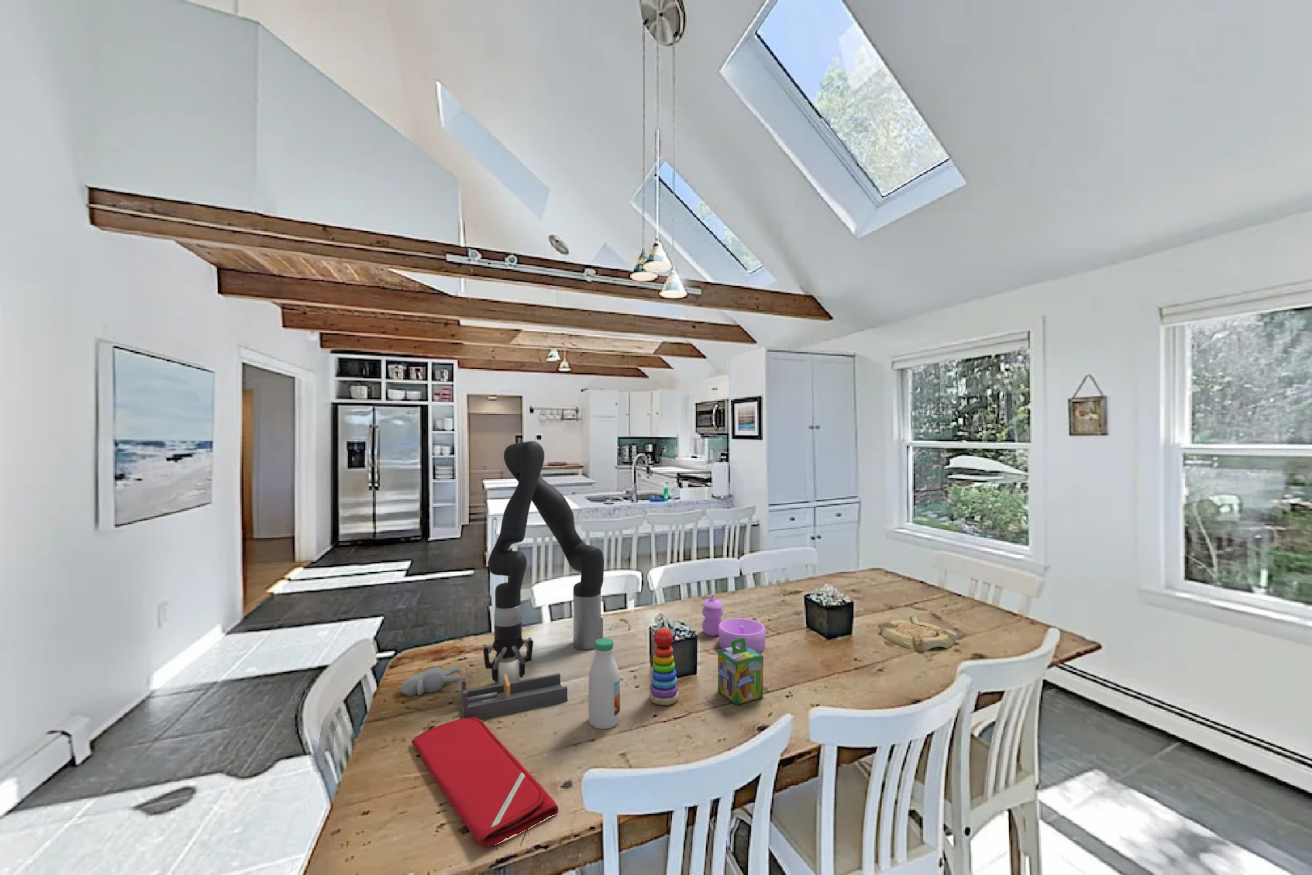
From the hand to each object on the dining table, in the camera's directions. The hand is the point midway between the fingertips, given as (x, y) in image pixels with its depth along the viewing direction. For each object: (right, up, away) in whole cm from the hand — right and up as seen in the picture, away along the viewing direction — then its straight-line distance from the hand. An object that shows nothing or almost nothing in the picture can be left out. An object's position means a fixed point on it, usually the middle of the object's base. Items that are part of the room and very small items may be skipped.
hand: (508, 678), depth 150 cm
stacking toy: (+44, -1, -9) cm, 45 cm away
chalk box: (+65, -1, -7) cm, 65 cm away
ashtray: (+132, -1, +32) cm, 136 cm away
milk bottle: (+29, -2, -20) cm, 36 cm away
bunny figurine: (-21, -2, -3) cm, 21 cm away
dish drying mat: (+5, -3, -40) cm, 41 cm away
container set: (+68, -1, +30) cm, 74 cm away
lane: (+5, -1, -11) cm, 12 cm away
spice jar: (0, -1, 0) cm, 1 cm away
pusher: (-2, 0, -14) cm, 14 cm away
